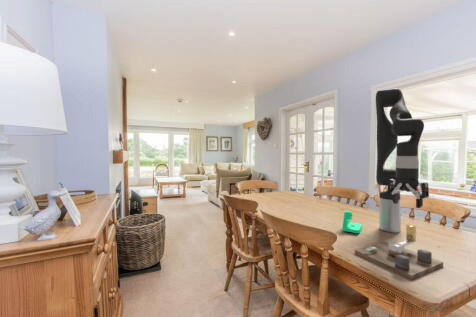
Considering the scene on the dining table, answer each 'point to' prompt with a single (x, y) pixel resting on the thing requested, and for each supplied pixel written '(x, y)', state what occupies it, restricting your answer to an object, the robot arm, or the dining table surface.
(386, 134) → the robot arm
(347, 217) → the camera mount
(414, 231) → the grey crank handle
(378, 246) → the base
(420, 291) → the dining table surface
